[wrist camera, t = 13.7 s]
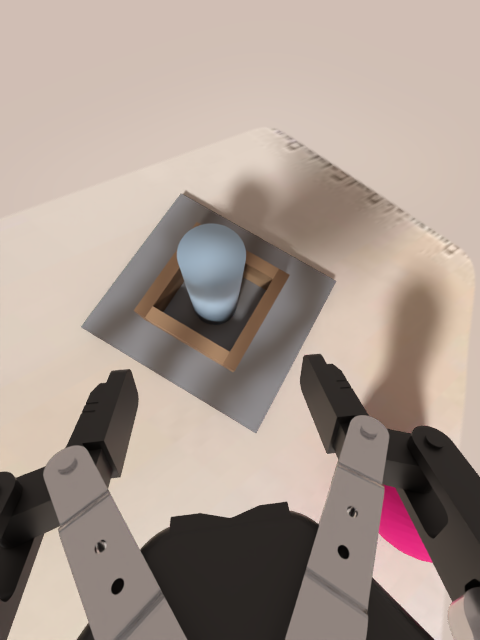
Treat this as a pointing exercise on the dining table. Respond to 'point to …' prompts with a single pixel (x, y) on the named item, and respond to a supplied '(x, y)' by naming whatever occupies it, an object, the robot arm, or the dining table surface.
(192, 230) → the post
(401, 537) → the pepper mill
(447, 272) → the dining table surface
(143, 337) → the wooden frame tray
